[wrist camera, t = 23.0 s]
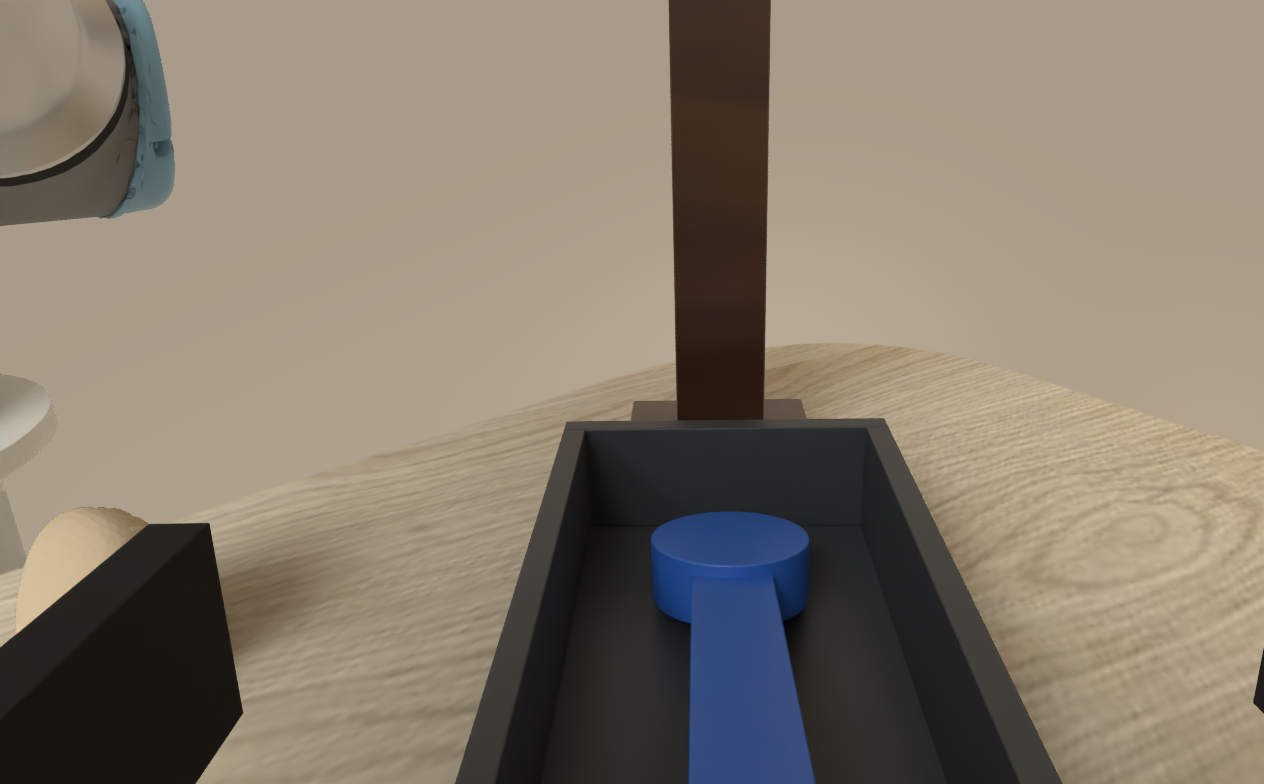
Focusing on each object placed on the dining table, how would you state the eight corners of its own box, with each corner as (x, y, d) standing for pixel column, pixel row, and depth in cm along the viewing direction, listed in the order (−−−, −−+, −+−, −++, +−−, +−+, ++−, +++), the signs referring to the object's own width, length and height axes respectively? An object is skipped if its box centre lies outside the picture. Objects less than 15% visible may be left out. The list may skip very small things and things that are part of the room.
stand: (634, 428, 46) (605, -345, 34) (800, 427, 45) (825, -359, 34) (623, 508, 38) (581, -445, 27) (821, 507, 38) (863, -466, 26)
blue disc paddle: (655, 566, 33) (654, 511, 32) (800, 565, 32) (800, 510, 32) (614, 918, 16) (611, 816, 16) (905, 923, 16) (906, 820, 16)
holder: (573, 534, 36) (566, 421, 35) (876, 533, 36) (884, 417, 34) (445, 1100, 17) (413, 912, 16) (1092, 1125, 17) (1135, 929, 15)
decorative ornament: (132, 598, 33) (95, 462, 31) (263, 688, 28) (230, 534, 27) (7, 657, 30) (-42, 511, 28) (130, 768, 26) (80, 602, 24)
